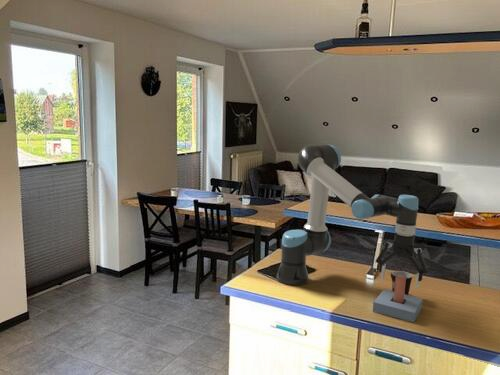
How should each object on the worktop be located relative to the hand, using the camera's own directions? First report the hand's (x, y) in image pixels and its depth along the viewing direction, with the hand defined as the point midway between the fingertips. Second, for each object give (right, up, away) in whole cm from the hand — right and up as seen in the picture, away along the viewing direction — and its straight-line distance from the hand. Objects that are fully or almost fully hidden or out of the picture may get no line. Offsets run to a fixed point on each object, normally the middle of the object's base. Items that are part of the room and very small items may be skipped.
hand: (399, 283), depth 171 cm
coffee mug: (+6, -9, +17) cm, 20 cm away
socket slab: (0, -11, +2) cm, 11 cm away
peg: (0, -11, +2) cm, 11 cm away
